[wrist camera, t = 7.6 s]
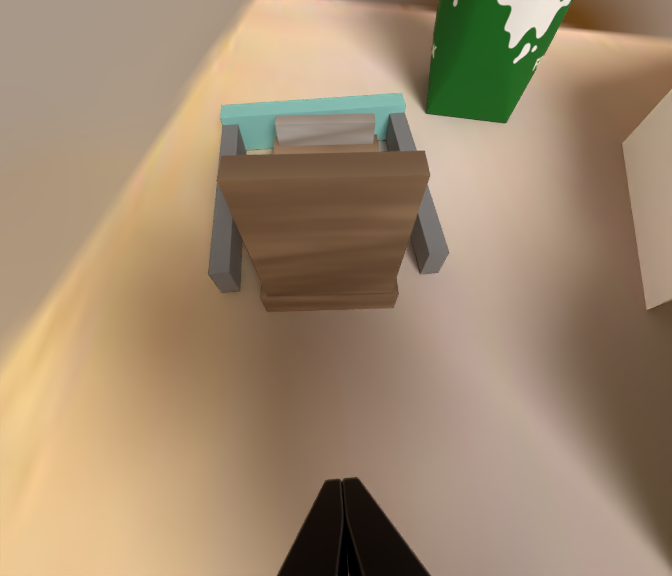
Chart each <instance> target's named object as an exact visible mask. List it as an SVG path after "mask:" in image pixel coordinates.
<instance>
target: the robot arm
mask: <svg viewBox="0 0 672 576" xmlns="http://www.w3.org/2000/svg"><path fill="white" fill-rule="evenodd" d="M342 489H343V490H342ZM347 559H348V560H347ZM348 572H349V576H431V575H430V574H429V572H428V571H427V570H426V568H425V567H424V566H423V564H422V563H421V562H420V560H419V559H418V558H417V556H416V555H415V554H414V552H413V551H412V550H411V548H410V547H409V545H408V544H407V543H406V541H405V540H404V539H403V537H402V536H401V535H400V533H399V532H398V531H397V529H396V528H395V527H394V525H393V524H392V523H391V521H390V520H389V518H388V517H387V516H386V514H385V513H384V512H383V510H382V509H381V508H380V506H379V505H378V504H377V502H376V501H375V500H374V498H373V497H372V496H371V494H370V493H369V491H368V490H367V489H366V487H365V486H364V485H363V483H362V482H361V481H360V479H359V478H357V477H353V478H344V479H343V480H342V481H341V479H330V480H326V481H325V482H324V484H323V486H322V488H321V490H320V492H319V494H318V496H317V498H316V500H315V501H314V503H313V505H312V507H311V509H310V511H309V513H308V515H307V517H306V519H305V521H304V523H303V525H302V527H301V529H300V531H299V533H298V535H297V537H296V539H295V541H294V543H293V545H292V547H291V549H290V550H289V552H288V554H287V556H286V558H285V560H284V562H283V564H282V566H281V568H280V570H279V572H278V574H277V576H348Z"/></svg>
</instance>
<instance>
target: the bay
mask: <svg viewBox="0 0 672 576" xmlns="http://www.w3.org/2000/svg"><path fill="white" fill-rule="evenodd" d="M405 107H406V104H405V101H404V98H403V95H402V93H392V94H378V95H363V96H348V97H334V98H319V99H305V100H290V101H275V102H261V103H246V104H232V105H221V114H220V119H221V122H222V125H223V127H222V137H221V148H220V158H219V166H220V161H221V156H229V155H246V150H254V149H268V148H274V139H275V137H277V132H276V127H275V119H276V116H285V115H327V114H369V113H374V115H375V131H374V134H377V138H378V140H386V143H387V147H388V151H417V150H416V147H415V144H414V141H413V138H412V134H411V131H410V128H409V125H408V122H407V119H406V116H405ZM218 171H219V168H218ZM411 239H412V243H413V247H414V251H415V255H416V258H417V262H418V266H419V270H420V274H429V273H438V272H439V270H440V268H441V267H442V265H443V263H444V261H445V259H446V257H447V256H448V254H449V250H448V247H447V244H446V241H445V238H444V235H443V232H442V229H441V225H440V222H439V219H438V216H437V213H436V210H435V207H434V203H433V200H432V197H431V194H430V191H429V188H428V185H427V186H426V189H425V192H424V196H423V199H422V202H421V205H420V208H419V211H418V214H417V217H416V220H415V223H414V226H413V229H412V232H411ZM241 257H242V237H241V235H240V232H239V230H238V228H237V226H236V223H235V221H234V219H233V216H232V214H231V212H230V210H229V207H228V205H227V203H226V201H225V198H224V196H223V194H222V191H221V189H220V187H219V185H218V182H217V189H216V199H215V210H214V220H213V231H212V241H211V251H210V262H209V272H208V274H209V276H210V277H211V279H212V280H213V281H214V283H215V284H216V286H217V287H218V288H219V290H220V291H221V293H223V292H234V291H240V281H241Z"/></svg>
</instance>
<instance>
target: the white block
mask: <svg viewBox="0 0 672 576" xmlns="http://www.w3.org/2000/svg"><path fill="white" fill-rule="evenodd" d="M622 147H623V154H624V161H625V167H626V174H627V181H628V188H629V194H630V201H631V208H632V215H633V221H634V228H635V235H636V242H637V248H638V255H639V262H640V269H641V275H642V282H643V289H644V296H645V303H646V309H647V310H648V309H651V308H653V307H656V306H659V305H661V304H664V303H666V302H669V301H672V89H671V90H670V91H669V92H668V93H667V95H666V96H665V97H664V98H663V99H662V100H661V101H660V102H659V103H658V104H657V106H656V107H655V108H654V109H653V110H652V111H651V112H650V113H649V114H648V115H647V117H646V118H645V119H644V120H643V121H642V122H641V123H640V124H639V125H638V126H637V128H636V129H635V130H634V131H633V132H632V133H631V134H630V135H629V136H628V137H627V139H626V140H625V141H624V142H623V143H622Z"/></svg>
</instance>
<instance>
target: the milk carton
mask: <svg viewBox="0 0 672 576" xmlns="http://www.w3.org/2000/svg"><path fill="white" fill-rule="evenodd" d="M572 1H573V0H439V4H438V8H437V14H436V21H435V27H434V33H433V41H432V52H431V64H430V76H429V88H428V100H427V112H426V113H427V114H435V115H444V116H452V117H460V118H468V119H476V120H485V121H493V122H501V123H506V122H507V121H508V119H509V117H510V115H511V113H512V111H513V110H514V108H515V106H516V104H517V103H518V101H519V99H520V97H521V96H522V94H523V92H524V90H525V88H526V87H527V85H528V83H529V81H530V79H531V78H532V76H533V74H534V72H535V71H536V69H537V67H538V65H539V63H540V62H541V60H542V58H543V56H544V55H545V53H546V51H547V49H548V47H549V45H550V43H551V41H552V39H553V38H554V36H555V34H556V32H557V30H558V28H559V26H560V24H561V22H562V20H563V18H564V16H565V14H566V12H567V10H568V9H569V6H570V5H571V3H572Z"/></svg>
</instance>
